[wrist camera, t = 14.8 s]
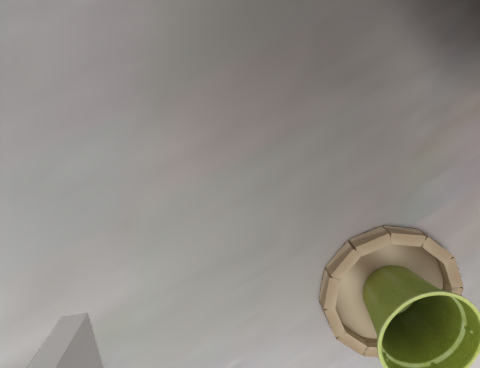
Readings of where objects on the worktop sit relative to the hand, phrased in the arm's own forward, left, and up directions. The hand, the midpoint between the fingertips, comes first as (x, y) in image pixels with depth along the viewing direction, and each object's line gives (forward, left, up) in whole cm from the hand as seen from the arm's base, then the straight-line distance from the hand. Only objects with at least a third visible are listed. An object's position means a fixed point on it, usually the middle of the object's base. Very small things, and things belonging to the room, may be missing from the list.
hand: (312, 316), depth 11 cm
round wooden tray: (+3, +21, -27) cm, 34 cm away
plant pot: (+3, +21, -26) cm, 34 cm away
